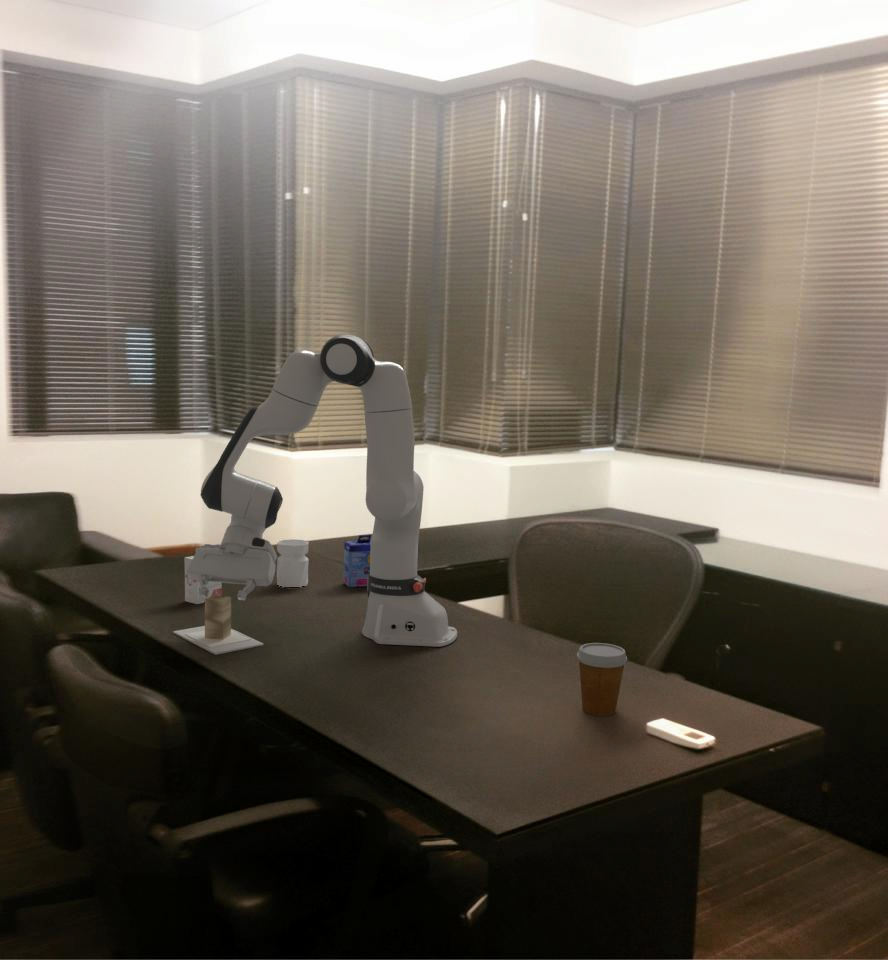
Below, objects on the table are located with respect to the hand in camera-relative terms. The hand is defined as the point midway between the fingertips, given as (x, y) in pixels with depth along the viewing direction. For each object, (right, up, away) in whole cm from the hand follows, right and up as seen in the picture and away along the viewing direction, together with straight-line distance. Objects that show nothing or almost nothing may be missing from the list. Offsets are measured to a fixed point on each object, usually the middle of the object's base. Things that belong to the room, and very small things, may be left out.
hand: (221, 597), depth 232 cm
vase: (+8, -3, +53) cm, 54 cm away
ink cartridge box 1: (-12, -5, +33) cm, 36 cm away
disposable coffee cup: (+80, -18, -37) cm, 90 cm away
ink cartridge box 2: (+27, -3, +56) cm, 62 cm away
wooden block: (-1, -9, 0) cm, 9 cm away
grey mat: (-1, -10, 0) cm, 10 cm away
